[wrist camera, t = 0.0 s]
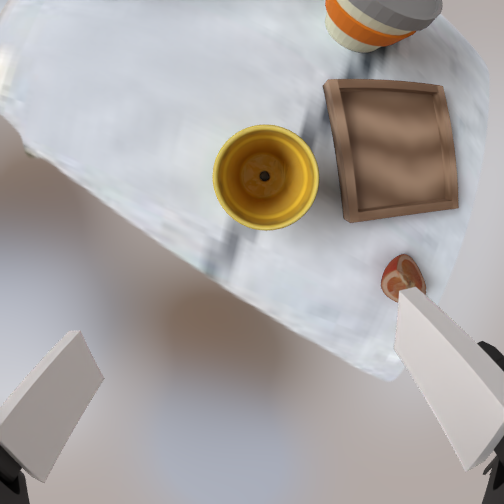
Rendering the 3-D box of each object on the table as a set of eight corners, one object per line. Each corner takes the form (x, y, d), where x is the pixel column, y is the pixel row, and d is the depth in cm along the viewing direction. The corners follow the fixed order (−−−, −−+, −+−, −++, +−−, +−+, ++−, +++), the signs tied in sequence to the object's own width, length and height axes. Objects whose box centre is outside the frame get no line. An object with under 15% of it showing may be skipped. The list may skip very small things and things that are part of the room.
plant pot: (317, 161, 34) (339, 159, 25) (279, 228, 37) (286, 249, 28) (247, 122, 33) (243, 105, 24) (209, 191, 36) (193, 200, 26)
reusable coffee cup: (402, 65, 29) (459, 32, 15) (324, 63, 30) (360, 13, 16) (378, 1, 26) (418, -45, 11) (303, -3, 27) (321, -64, 12)
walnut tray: (322, 85, 31) (328, 79, 28) (432, 89, 30) (442, 85, 27) (343, 218, 36) (350, 223, 34) (447, 205, 35) (458, 208, 32)
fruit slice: (423, 274, 39) (439, 286, 34) (395, 304, 40) (409, 319, 36) (395, 241, 37) (411, 251, 32) (365, 274, 39) (378, 288, 34)
